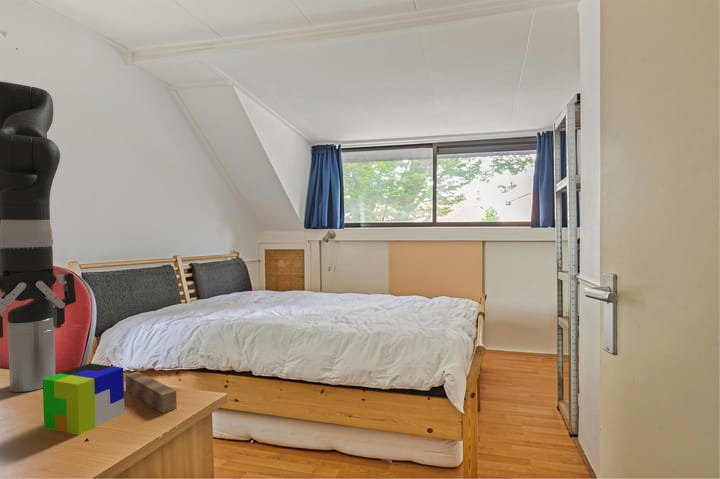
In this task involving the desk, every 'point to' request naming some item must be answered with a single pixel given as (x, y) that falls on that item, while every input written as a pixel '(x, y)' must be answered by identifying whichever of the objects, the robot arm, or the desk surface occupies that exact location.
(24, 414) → the desk surface
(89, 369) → the puzzle toy
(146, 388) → the block
